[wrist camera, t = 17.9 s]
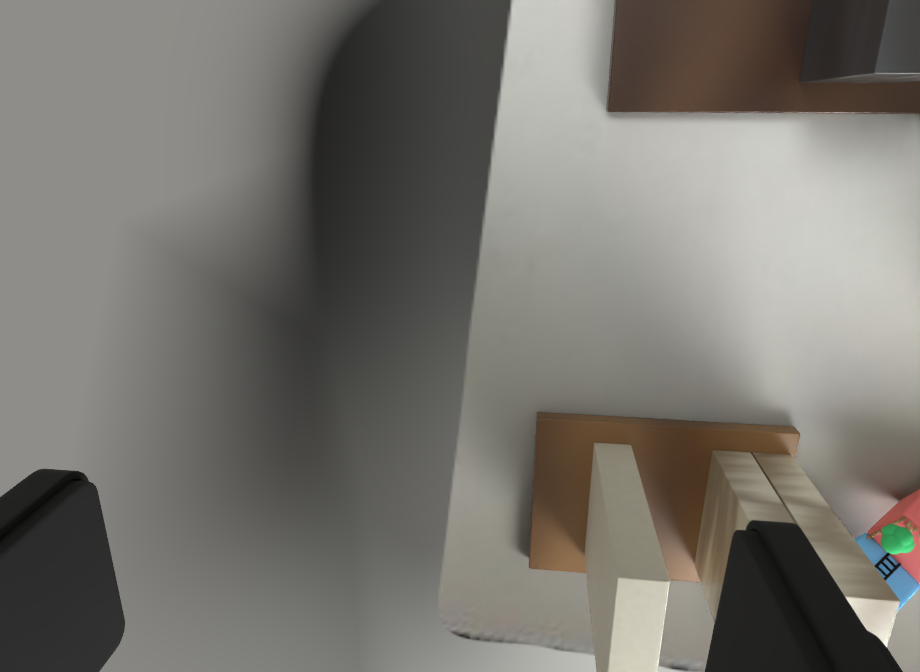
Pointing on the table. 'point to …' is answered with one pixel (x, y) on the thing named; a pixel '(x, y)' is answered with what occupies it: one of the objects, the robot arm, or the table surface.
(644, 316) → the table surface
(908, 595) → the building blocks
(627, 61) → the grey board
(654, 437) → the cream board
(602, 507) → the cream book
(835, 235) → the table surface
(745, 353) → the table surface
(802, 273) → the table surface
